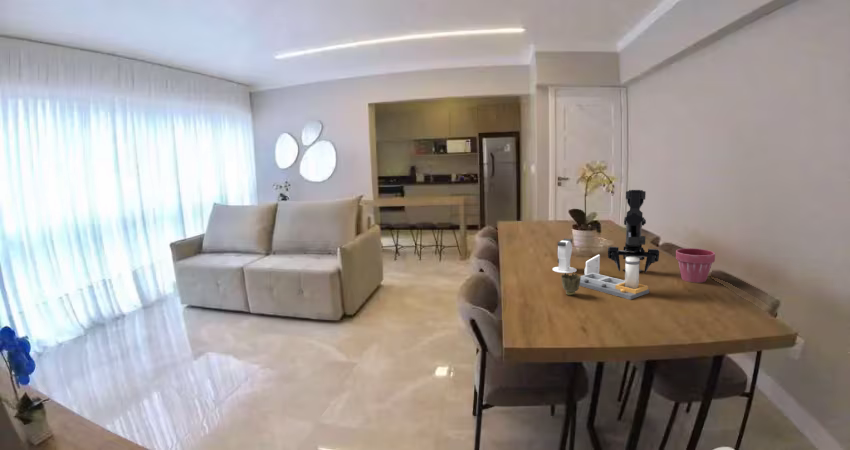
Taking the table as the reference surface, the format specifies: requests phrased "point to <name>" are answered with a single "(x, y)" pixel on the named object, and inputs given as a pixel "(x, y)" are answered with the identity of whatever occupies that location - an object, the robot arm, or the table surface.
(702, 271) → the plant pot
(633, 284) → the white bottle
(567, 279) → the cup
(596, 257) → the white wedge bracket
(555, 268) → the white charging stand
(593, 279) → the board
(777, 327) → the table surface
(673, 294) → the table surface
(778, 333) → the table surface
